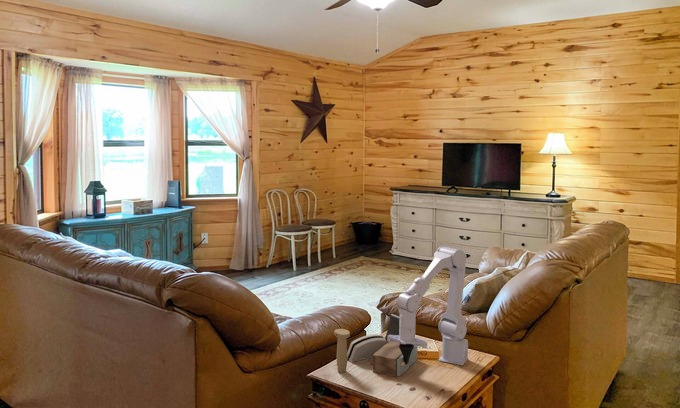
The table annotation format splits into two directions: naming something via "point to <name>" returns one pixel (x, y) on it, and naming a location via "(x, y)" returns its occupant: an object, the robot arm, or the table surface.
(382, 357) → the cabinet
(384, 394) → the table surface
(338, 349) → the handle
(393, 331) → the phone stand
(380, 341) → the grey curved piece
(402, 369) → the door
